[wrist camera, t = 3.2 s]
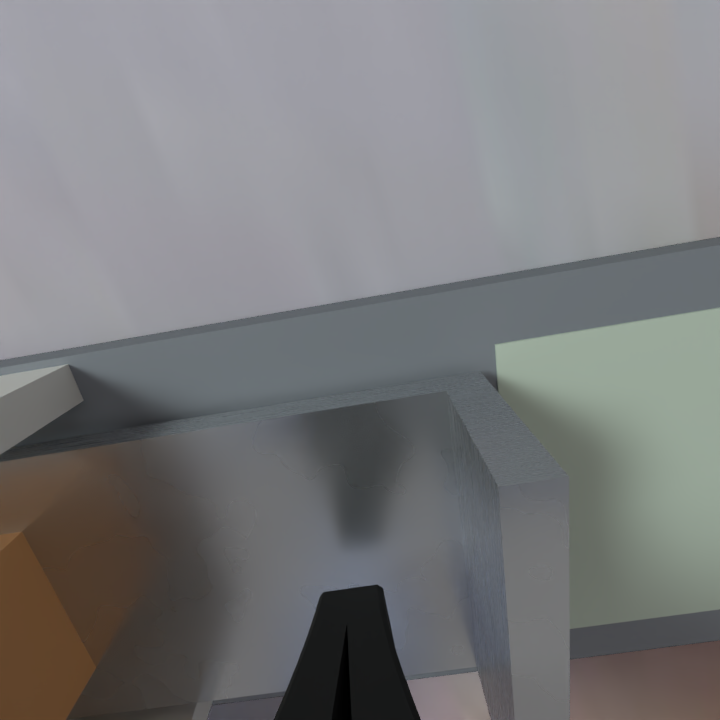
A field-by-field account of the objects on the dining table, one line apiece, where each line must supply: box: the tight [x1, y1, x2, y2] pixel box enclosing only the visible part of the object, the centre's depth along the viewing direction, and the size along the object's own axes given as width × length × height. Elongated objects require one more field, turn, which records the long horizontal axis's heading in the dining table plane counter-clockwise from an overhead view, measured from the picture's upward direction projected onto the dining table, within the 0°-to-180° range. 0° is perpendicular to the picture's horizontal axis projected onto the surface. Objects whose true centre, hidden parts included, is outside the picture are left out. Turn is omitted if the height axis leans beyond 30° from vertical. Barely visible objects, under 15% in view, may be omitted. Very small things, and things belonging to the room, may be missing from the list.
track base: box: [0, 237, 720, 705], centre depth 12 cm, size 13×38×1 cm, turn 100°
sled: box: [0, 371, 570, 720], centre depth 10 cm, size 9×19×4 cm, turn 100°
